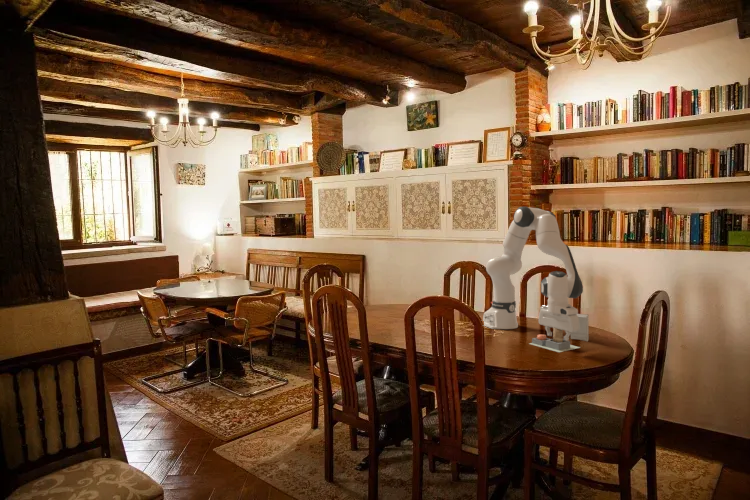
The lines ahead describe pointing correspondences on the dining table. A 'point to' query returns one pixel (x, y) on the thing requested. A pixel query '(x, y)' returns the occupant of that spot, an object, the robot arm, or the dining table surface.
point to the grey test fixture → (553, 345)
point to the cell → (557, 335)
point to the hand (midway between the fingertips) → (557, 337)
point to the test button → (541, 337)
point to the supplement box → (581, 328)
